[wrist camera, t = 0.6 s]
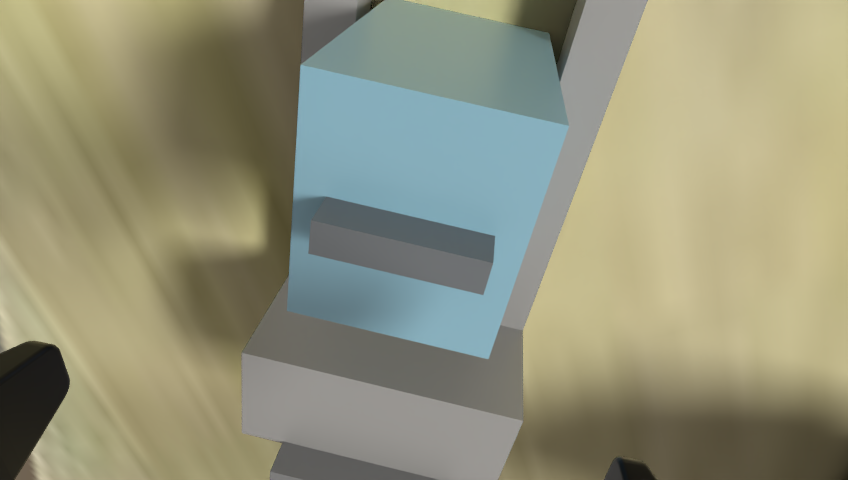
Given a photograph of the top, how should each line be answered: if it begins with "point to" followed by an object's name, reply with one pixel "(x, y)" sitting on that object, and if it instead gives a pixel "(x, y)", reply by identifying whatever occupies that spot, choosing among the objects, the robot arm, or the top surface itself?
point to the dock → (411, 361)
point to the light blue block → (421, 173)
